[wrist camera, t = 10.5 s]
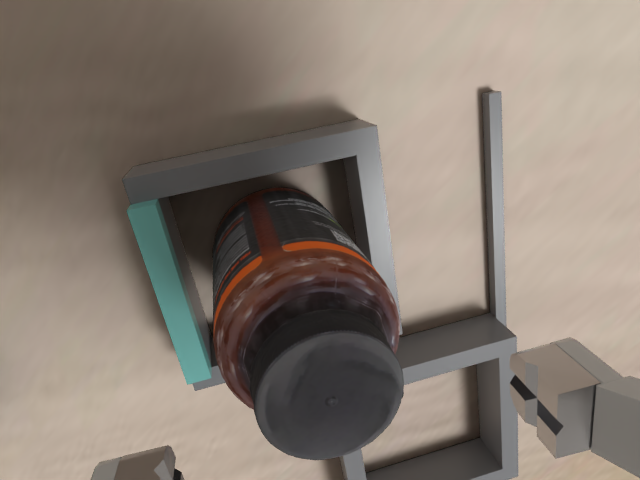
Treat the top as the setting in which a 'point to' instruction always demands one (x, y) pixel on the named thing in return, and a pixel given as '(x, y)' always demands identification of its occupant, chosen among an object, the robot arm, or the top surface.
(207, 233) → the top surface
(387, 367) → the supplement bottle
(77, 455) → the top surface
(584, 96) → the top surface
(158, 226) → the double square frame
